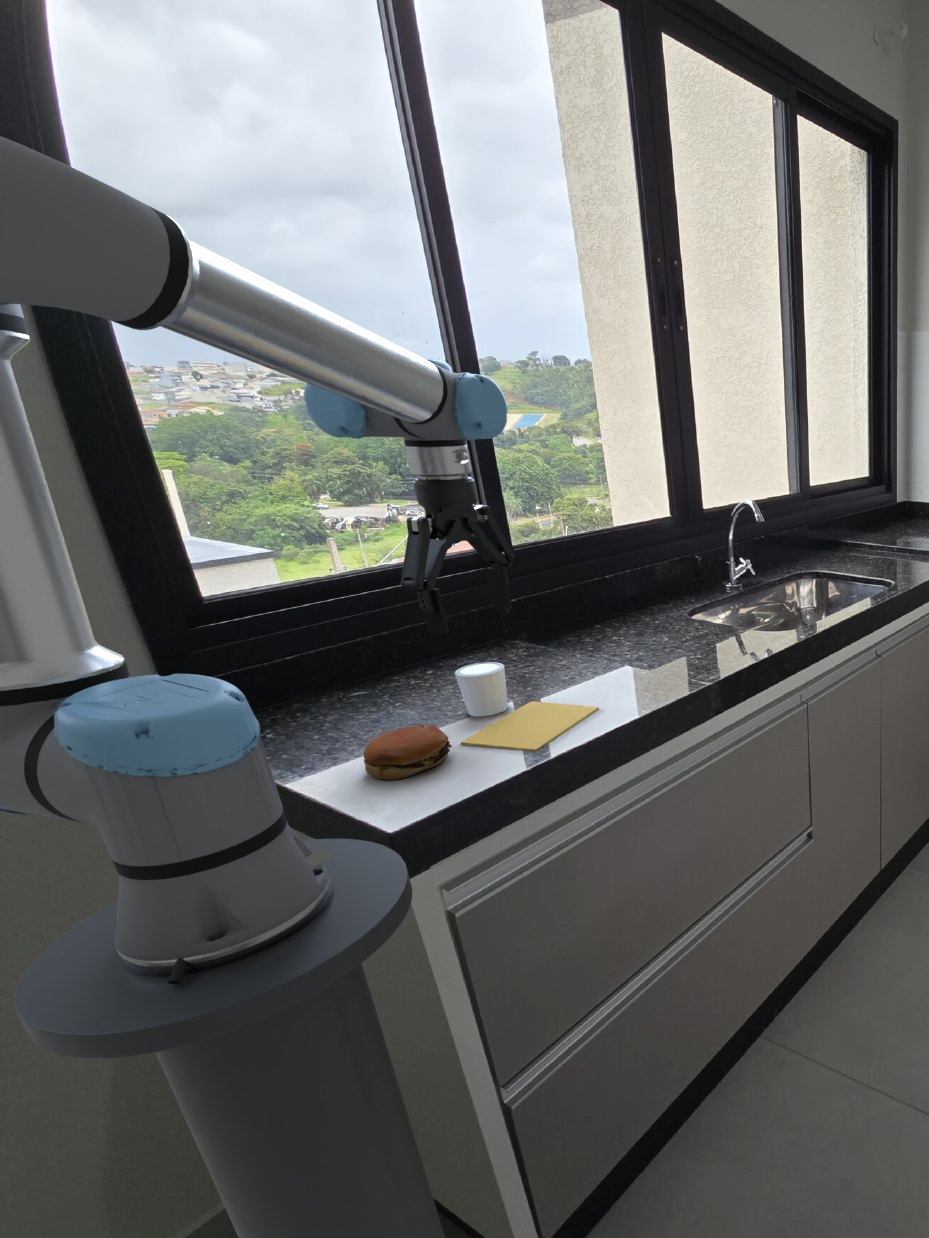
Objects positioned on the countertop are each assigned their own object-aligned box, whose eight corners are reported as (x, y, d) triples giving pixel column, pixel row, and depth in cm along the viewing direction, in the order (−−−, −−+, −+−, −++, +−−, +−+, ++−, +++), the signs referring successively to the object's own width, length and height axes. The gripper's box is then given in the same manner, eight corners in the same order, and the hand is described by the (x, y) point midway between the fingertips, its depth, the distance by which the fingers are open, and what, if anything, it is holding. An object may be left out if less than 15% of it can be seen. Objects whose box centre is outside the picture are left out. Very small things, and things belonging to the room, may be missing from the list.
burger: (353, 783, 96) (344, 750, 94) (388, 752, 104) (380, 722, 103) (436, 778, 97) (429, 746, 95) (464, 748, 106) (457, 718, 104)
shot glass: (478, 721, 114) (469, 678, 112) (454, 711, 118) (445, 670, 115) (520, 707, 120) (513, 666, 117) (497, 698, 123) (489, 658, 121)
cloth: (536, 752, 105) (535, 749, 105) (460, 744, 107) (460, 742, 107) (599, 709, 120) (598, 706, 120) (531, 703, 122) (531, 701, 121)
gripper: (395, 487, 94) (431, 646, 101) (524, 469, 117) (545, 600, 124) (344, 485, 95) (384, 642, 103) (481, 468, 118) (505, 597, 126)
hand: (472, 620), depth 114 cm, fingers open, 13 cm apart
